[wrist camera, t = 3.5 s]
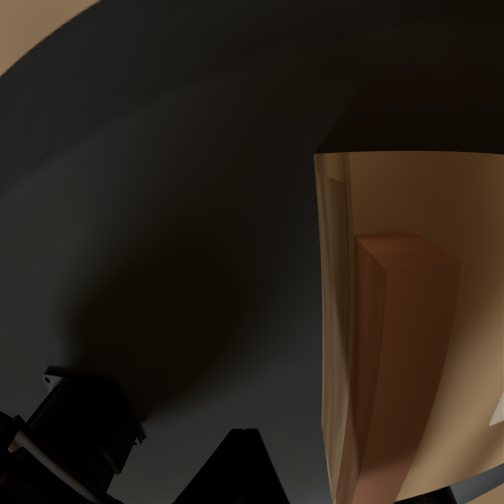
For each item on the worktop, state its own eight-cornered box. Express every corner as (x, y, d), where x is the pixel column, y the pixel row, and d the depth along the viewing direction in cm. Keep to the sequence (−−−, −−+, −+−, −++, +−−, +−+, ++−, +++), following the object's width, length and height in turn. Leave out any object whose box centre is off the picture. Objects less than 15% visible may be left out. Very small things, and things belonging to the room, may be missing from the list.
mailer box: (321, 423, 18) (331, 498, 12) (313, 154, 14) (342, 153, 8) (531, 369, 17) (569, 412, 11) (567, 161, 12) (631, 174, 6)
